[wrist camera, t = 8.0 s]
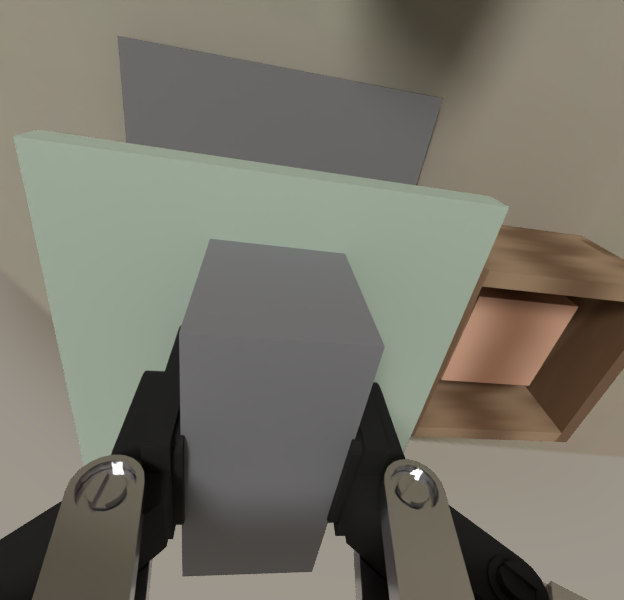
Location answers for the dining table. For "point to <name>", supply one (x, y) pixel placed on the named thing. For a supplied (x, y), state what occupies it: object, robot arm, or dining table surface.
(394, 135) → the mat
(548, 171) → the dining table surface
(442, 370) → the box
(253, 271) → the lid
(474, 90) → the dining table surface
